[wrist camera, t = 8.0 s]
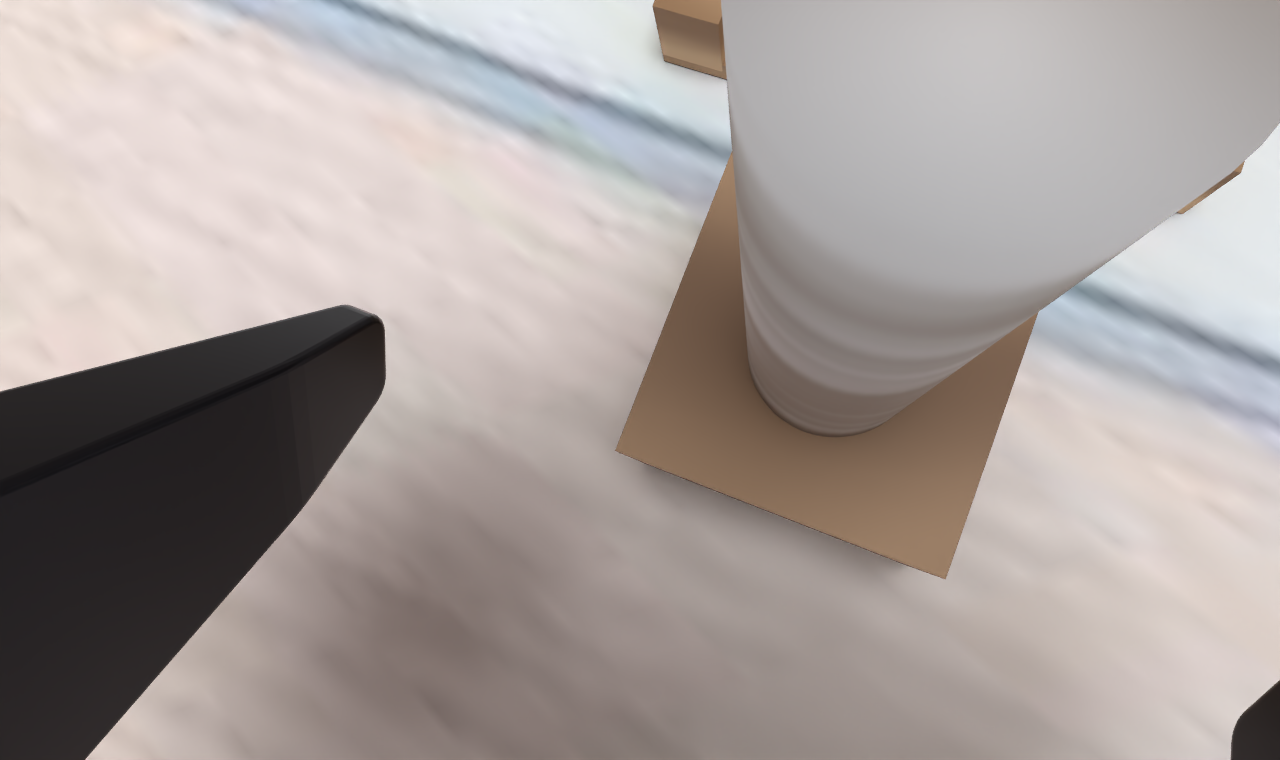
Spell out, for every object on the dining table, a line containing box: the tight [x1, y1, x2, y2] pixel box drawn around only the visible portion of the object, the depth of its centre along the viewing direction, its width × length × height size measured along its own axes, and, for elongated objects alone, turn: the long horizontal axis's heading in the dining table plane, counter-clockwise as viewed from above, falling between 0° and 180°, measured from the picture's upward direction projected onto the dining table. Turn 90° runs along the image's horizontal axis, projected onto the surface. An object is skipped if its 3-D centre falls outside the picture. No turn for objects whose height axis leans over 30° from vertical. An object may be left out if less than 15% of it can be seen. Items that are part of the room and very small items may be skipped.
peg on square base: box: [615, 0, 1280, 579], centre depth 12 cm, size 6×6×15 cm
